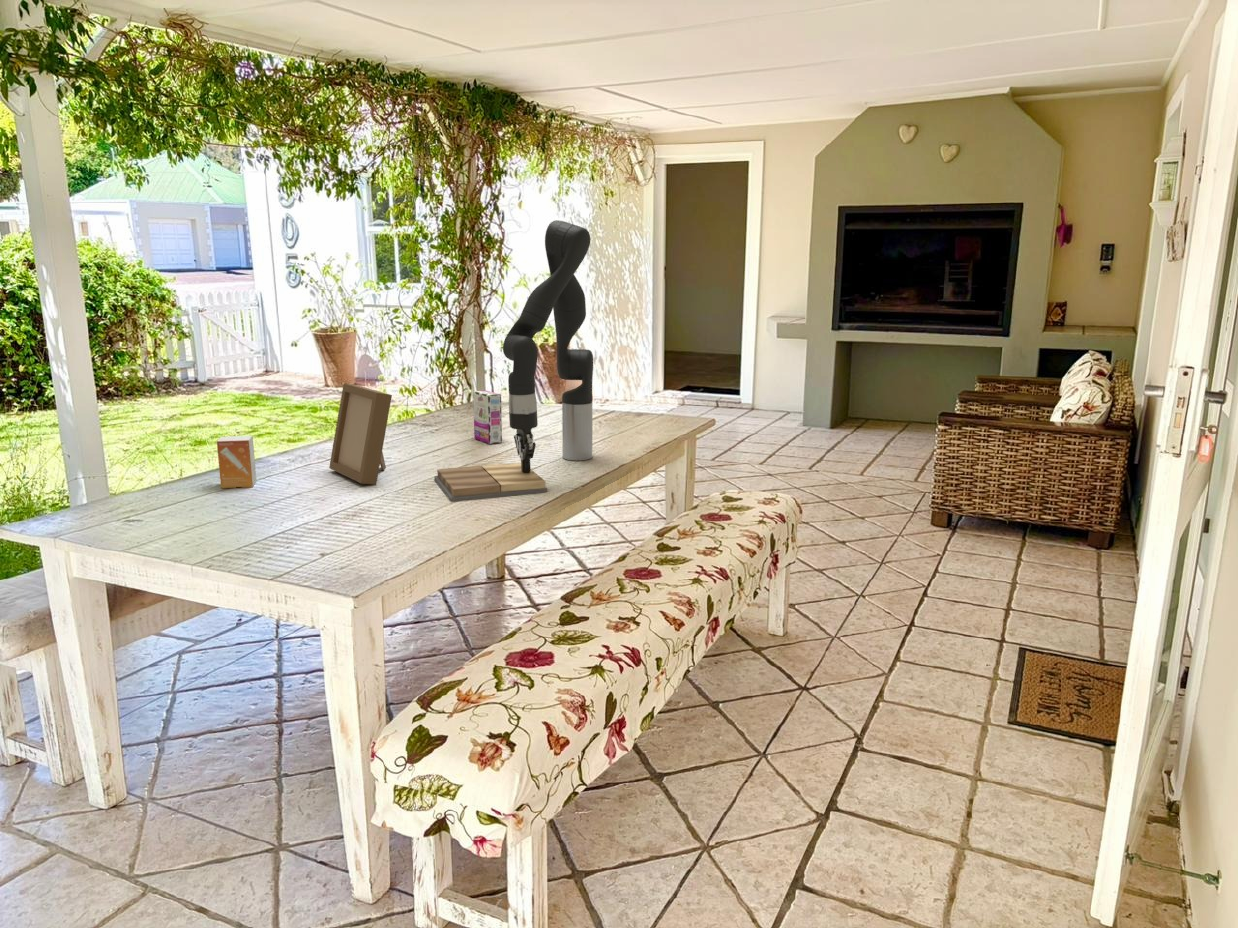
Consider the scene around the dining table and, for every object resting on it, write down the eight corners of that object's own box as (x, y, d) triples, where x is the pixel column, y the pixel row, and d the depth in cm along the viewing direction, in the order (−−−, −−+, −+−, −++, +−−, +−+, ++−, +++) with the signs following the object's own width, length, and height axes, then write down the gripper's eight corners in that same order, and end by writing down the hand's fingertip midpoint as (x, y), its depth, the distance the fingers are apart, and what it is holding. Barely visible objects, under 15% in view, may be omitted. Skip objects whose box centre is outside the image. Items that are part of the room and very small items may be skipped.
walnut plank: (437, 476, 240) (437, 469, 240) (480, 472, 245) (480, 465, 244) (453, 496, 220) (453, 489, 220) (499, 492, 225) (499, 484, 224)
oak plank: (481, 472, 245) (481, 465, 244) (522, 469, 249) (522, 462, 249) (501, 491, 225) (501, 484, 224) (545, 488, 229) (545, 481, 229)
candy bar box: (503, 443, 287) (502, 394, 283) (489, 444, 284) (488, 395, 280) (486, 437, 296) (485, 389, 292) (473, 439, 293) (472, 390, 289)
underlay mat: (434, 479, 241) (434, 476, 240) (523, 471, 250) (523, 468, 250) (451, 501, 220) (450, 497, 220) (547, 492, 229) (547, 488, 229)
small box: (220, 489, 230) (215, 441, 227) (225, 483, 236) (220, 436, 233) (253, 487, 232) (249, 439, 229) (257, 481, 238) (252, 434, 235)
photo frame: (361, 487, 232) (356, 394, 227) (329, 471, 249) (324, 384, 243) (412, 479, 242) (408, 390, 236) (378, 464, 258) (374, 380, 252)
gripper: (502, 407, 238) (506, 468, 242) (516, 415, 226) (519, 479, 230) (529, 404, 241) (532, 465, 245) (543, 412, 229) (546, 476, 233)
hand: (526, 472), depth 238 cm, fingers closed
